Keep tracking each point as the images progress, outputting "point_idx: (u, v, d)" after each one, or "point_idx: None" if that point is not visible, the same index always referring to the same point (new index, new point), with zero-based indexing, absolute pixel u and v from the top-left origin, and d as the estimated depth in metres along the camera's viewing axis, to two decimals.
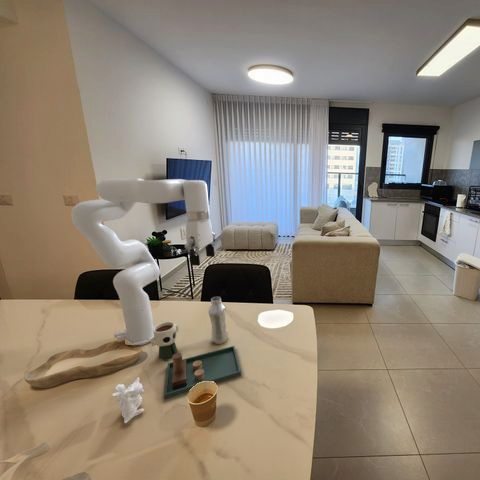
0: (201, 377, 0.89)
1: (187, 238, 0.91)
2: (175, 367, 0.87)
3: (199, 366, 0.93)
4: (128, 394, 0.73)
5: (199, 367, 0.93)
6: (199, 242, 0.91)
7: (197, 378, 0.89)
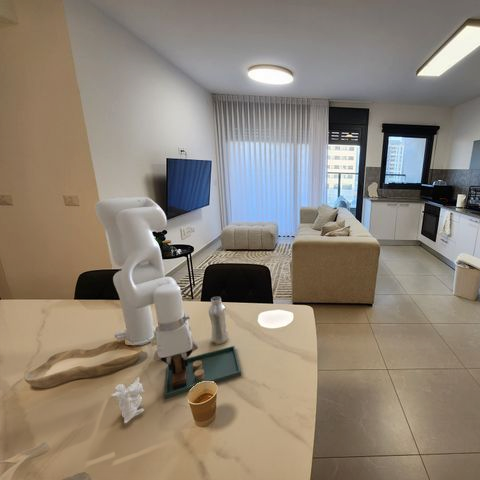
0: (201, 377, 0.89)
1: None
2: (175, 367, 0.87)
3: (199, 366, 0.93)
4: (128, 394, 0.73)
5: (199, 367, 0.93)
6: (159, 352, 0.83)
7: (197, 378, 0.89)
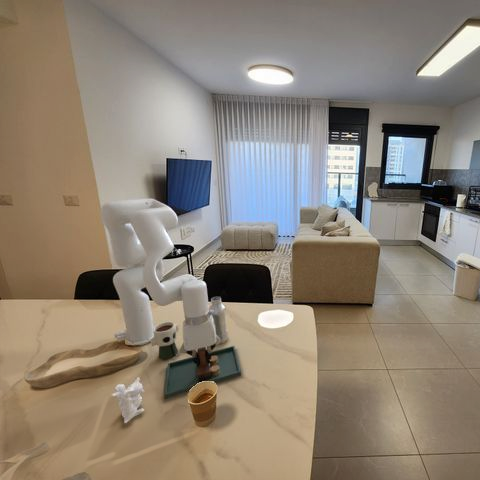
0: (217, 373, 0.91)
1: None
2: (200, 360, 0.90)
3: (215, 361, 0.96)
4: (128, 394, 0.73)
5: (215, 362, 0.96)
6: (186, 346, 0.86)
7: (213, 374, 0.90)
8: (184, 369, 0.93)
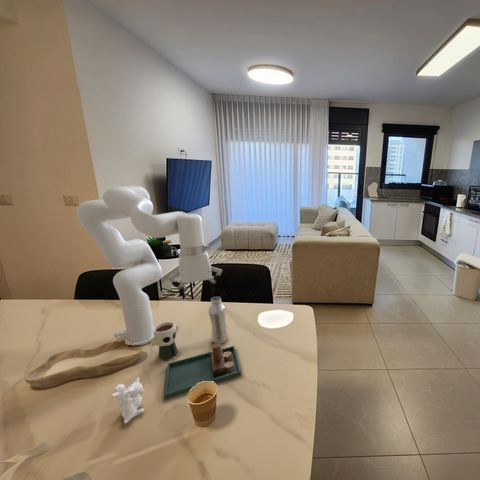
0: (231, 369, 0.93)
1: None
2: (214, 356, 0.92)
3: (229, 357, 0.98)
4: (128, 394, 0.73)
5: (229, 358, 0.98)
6: (182, 277, 0.89)
7: (228, 370, 0.92)
8: (184, 369, 0.93)
